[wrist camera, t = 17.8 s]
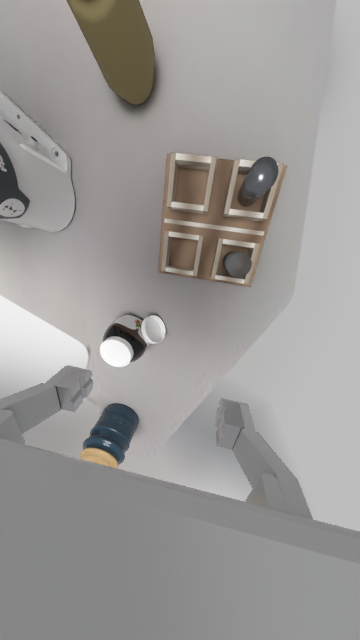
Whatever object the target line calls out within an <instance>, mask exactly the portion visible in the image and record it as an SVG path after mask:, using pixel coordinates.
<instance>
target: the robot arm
mask: <svg viewBox="0 0 360 640" xmlns="http://www.w3.org/2000/svg"><path fill="white" fill-rule="evenodd" d="M58 153H59V156H57V154H58ZM74 209H75V195H74V190H73V186H72V182H71V160H70V157H69V155H68V154H67V153H66V152H65V151H64V150H63V149H62V148H61V147H60V146H59V145H58V144H56V143H55V142H54V141H53V140H52V139H51V138H50V137H49V136H48V135H47V134H46V133H45V132H44V131H43V130H42V129H41V128H40V127H39V126H38V125H37V124H35V123H34V122H33V121H32V120H31V119H30V118H29V117H28V116H27V115H26V114H25V113H24V112H23V111H22V110H21V109H20V108H19V107H18V106H17V105H16V104H14V103H13V102H12V101H11V100H10V99H9V98H8V97H7V96H6V95H5V94H3V93H2V92H0V220H3V221H7V222H12V223H16V224H18V225H19V226H21V227H24V228H38V229H41V230H44V231H48V232H57V231H60V230H62V229H64V228H65V227H66V226H67V225H68V224H69V223H70V221H71V219H72V217H73V214H74ZM91 376H92V371H90V370H86V369H81V368H78V367H73V366H69V365H68V366H65V367H64V368H63V369H61V370H60V371H59V372H58V373H57V374H56V375H54V376H53V377H52V378H51V379H50V380H48V381H47V382H46V383H45V384H44V383H41V384H39V385H36V386H34V387H31V388H28V389H26V390H23V391H20V392H18V393H15V394H13V395H10V396H8V397H5V398H2V399H0V640H360V532H359V531H355V530H351V529H347V528H343V527H340V526H336V525H332V524H328V523H324V522H320V521H317V520H313V518H312V515H311V513H310V510H309V508H308V505H307V502H306V500H305V497H304V495H303V492H302V489H301V487H300V485H299V482H298V480H297V478H296V477H295V476H294V475H293V474H292V472H291V471H290V470H289V469H288V468H287V466H286V465H285V464H284V463H283V462H282V460H281V459H280V458H279V457H278V455H277V454H276V453H275V452H274V451H273V449H272V448H271V447H270V446H269V445H268V443H267V442H266V441H265V440H264V438H263V437H262V436H261V435H260V434H259V432H256V431H255V428H254V424H253V421H252V417H251V413H250V409H249V406H248V404H246V403H241V402H237V401H232V400H226V399H222V398H221V400H220V402H219V405H220V407H219V408H218V409H217V413H216V426H217V428H218V429H217V432H216V437H217V446H221V447H224V448H228V449H232V451H233V453H234V455H235V456H236V458H237V460H238V462H239V464H240V466H241V468H242V469H243V471H244V473H245V475H246V477H247V479H248V481H249V482H250V484H251V486H252V488H253V490H252V492H251V493H250V494H249V496H248V498H247V499H246V502H243V501H239V500H236V499H232V498H228V497H224V496H220V495H216V494H213V493H209V492H205V491H201V490H197V489H193V488H189V487H186V486H182V485H178V484H174V483H170V482H167V481H163V480H159V479H155V478H151V477H147V476H144V475H140V474H136V473H132V472H128V471H125V470H121V469H117V468H113V467H109V466H105V465H102V464H98V463H94V462H90V461H86V460H82V459H78V458H75V457H71V456H67V455H63V454H59V453H55V452H52V451H47V450H43V449H40V448H36V447H32V446H28V445H25V440H24V437H23V435H22V434H23V433H24V432H26V431H27V430H29V429H31V428H32V427H34V426H36V425H37V424H39V423H40V422H42V421H44V420H45V419H47V418H49V417H50V416H52V415H53V414H55V413H57V412H58V411H60V410H61V409H63V410H68V411H73V412H75V411H76V410H77V408H78V407H79V406H80V405H81V403H82V401H83V398H85V397H87V396H88V395H89V393H90V392H91V390H92V388H93V380H92V379H91V378H90V377H91Z"/></svg>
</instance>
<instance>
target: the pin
mask: <svg viewBox="0 0 360 640" xmlns="http://www.w3.org/2000/svg"><path fill="white" fill-rule="evenodd" d="M277 177H278V165H277V163H276V161H275V160H274V159H273V158H271V157H262V158H260V159H258V160H257V161H256V162H255V163H254V164H253V165H252V167H251V168H250V170H249V172H248V174H247V176H246V177H245V179H244V181H243V183H242V185H241V187H240V188H239V190H238V193H237V200H238V202H239V204H240V205H242V206H244V207H248V206H251V205H252V204H254V203H255V202H256V201H257V200H258V199H259V198H260V197H261V196H262V195H263V194H264V193H265V192H267V191H268V190H269V189H270V188H271V187H272V186H273V185H274V183H275V182H276V179H277Z"/></svg>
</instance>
